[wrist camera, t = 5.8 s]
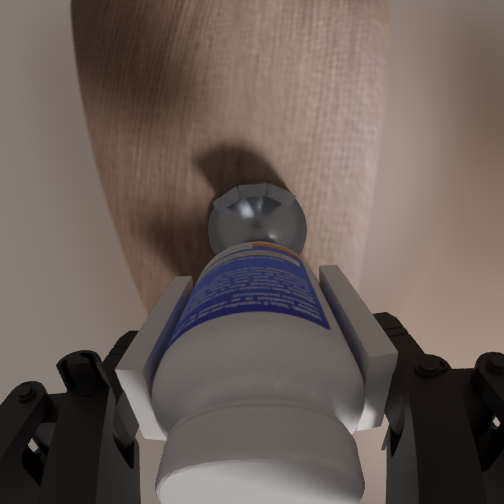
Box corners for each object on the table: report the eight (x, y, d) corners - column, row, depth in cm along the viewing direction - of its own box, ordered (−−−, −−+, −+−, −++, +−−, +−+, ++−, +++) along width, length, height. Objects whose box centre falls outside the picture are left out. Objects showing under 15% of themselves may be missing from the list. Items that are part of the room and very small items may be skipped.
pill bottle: (172, 293, 13) (68, 474, 4) (263, 211, 12) (272, 360, 3) (254, 367, 15) (248, 555, 5) (343, 301, 13) (435, 486, 4)
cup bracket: (188, 187, 26) (150, 202, 16) (318, 176, 25) (353, 186, 16) (205, 308, 29) (183, 373, 19) (321, 299, 28) (348, 362, 19)
